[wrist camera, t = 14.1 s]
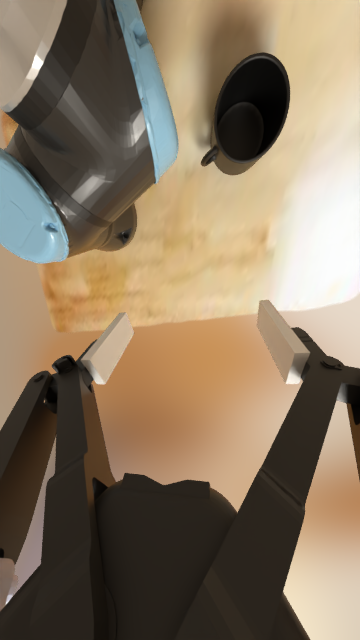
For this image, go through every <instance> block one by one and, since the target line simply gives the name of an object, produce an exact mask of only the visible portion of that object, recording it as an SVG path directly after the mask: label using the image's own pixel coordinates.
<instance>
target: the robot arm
mask: <svg viewBox="0 0 360 640" xmlns="http://www.w3.org/2000/svg"><path fill="white" fill-rule="evenodd" d="M0 108H1V109H2V110H3V111H4V112H5V113H6V114H7V115H9V116H10V117H11V118H12V119H13V120H14V121H16V122H17V123H18V124H19V126H18V127H17V129H16V131H15V133H14V135H13V137H12V139H11V141H10V142H9V144H8V146H7V148H5V149H4V150H3V149H1V148H0V244H1V245H2V246H4V247H5V248H6V249H8V250H9V251H10V252H12V253H13V254H15V255H17V256H19V257H21V258H23V259H25V260H30V261H32V262H35V263H50V262H55V261H56V262H58V261H59V262H60V261H62V260H65V259H66V258H68V257H71V256H74V255H77V254H80V253H83V252H86V251H89V250H92V249H98V250H102V251H116V250H119V249H121V248H124V247H125V246H127V245H128V244H129V243H130V242H131V240H132V239H133V237H134V234H135V231H136V227H137V215H136V209H135V206H134V202H135V201H136V200H137V199H138V198H139V197H140V196H141V195H142V194H143V193H144V192H145V191H146V190H147V189H148V188H149V187H151V186H152V185H153V184H157V183H158V181H159V178H160V177H161V176H162V175H163V174H164V173H165V172H166V171H167V170H168V169H169V168H170V166H171V165H172V164H173V163H174V161H175V160H176V158H177V153H178V135H177V129H176V125H175V121H174V117H173V113H172V109H171V105H170V102H169V98H168V95H167V91H166V88H165V85H164V81H163V78H162V75H161V72H160V69H159V65H158V62H157V59H156V56H155V53H154V51H153V48H152V45H151V43H150V42H149V40H148V38H147V32H146V29H145V26H144V24H143V21H142V17H141V14H140V11H139V7H138V5H137V2H136V0H0ZM257 327H258V329H259V331H260V333H261V335H262V337H263V339H264V341H265V343H266V345H267V347H268V349H269V351H270V353H271V355H272V357H273V359H274V361H275V363H276V365H277V367H278V369H279V371H280V373H281V375H282V377H283V379H284V382H285V383H286V384H299V382H300V379H302V380H303V383H302V385H301V387H300V389H299V391H298V393H297V396H296V397H295V399H294V401H293V403H292V405H291V408H290V410H289V412H288V414H287V416H286V418H285V420H284V422H283V424H282V426H281V428H280V430H279V432H278V434H277V436H276V438H275V440H274V442H273V444H272V446H271V448H270V451H269V452H268V455H267V457H266V459H265V461H264V463H263V465H262V467H261V468H260V469H259V471H258V473H257V475H256V477H255V479H254V481H253V483H252V485H251V487H250V489H249V491H248V493H247V495H246V497H245V499H244V501H243V503H242V505H241V507H240V509H239V511H238V513H237V511H236V510H235V509H234V507H233V506H232V505H231V503H230V502H229V501H228V500H227V499H226V498H225V497H224V496H223V495H222V494H220V493H219V492H217V491H216V490H214V489H212V488H210V484H209V482H203V481H194V480H184V481H180V482H177V483H172V484H168V485H162V484H160V483H158V482H156V481H154V480H152V479H150V478H148V477H147V476H145V475H139V474H129V473H125V474H124V477H123V480H120V481H118V482H116V481H115V479H114V477H113V475H112V472H111V469H110V465H109V461H108V455H107V451H106V446H105V441H104V437H103V432H102V427H101V422H100V417H99V413H98V408H97V403H96V399H95V393H94V389H93V385H92V384H91V383H92V381H93V380H95V382H96V383H97V384H106V382H107V380H108V379H109V377H110V375H111V373H112V372H113V370H114V368H115V366H116V365H117V363H118V361H119V359H120V357H121V356H122V354H123V352H124V350H125V349H126V347H127V345H128V343H129V342H130V340H131V338H132V336H133V334H134V331H133V329H132V326H131V323H130V321H129V318H128V316H127V313H119V314H118V316H117V317H116V318H115V319H114V320H113V322H112V323H111V324H110V325H109V326H108V328H107V329H106V330H105V331H104V332H103V334H102V335H101V336H100V337H99V338H98V339H97V340H95V341H94V342H93V343H92V344H91V345H90V346H89V347H88V348H87V349H86V350H85V352H84V353H83V354H82V355H81V356H80V357H79V358H78V360H77V361H76V362H75V360H74V359H73V357H72V356H70V355H66V356H63V357H61V358H59V359H58V360H56V361H55V362H54V363H53V365H52V367H53V369H54V370H55V371H56V372H57V373H55V374H52V375H51V374H50V373H49V372H48V371H42V372H39V373H37V374H36V375H34V376H33V377H32V378H31V379H30V380H29V382H28V383H27V385H26V387H25V389H24V391H23V392H22V394H21V395H20V397H19V399H18V401H17V403H16V404H15V406H14V408H13V410H12V411H11V413H10V415H9V417H8V418H7V420H6V422H5V424H4V425H3V427H2V429H1V431H0V640H310V638H309V637H308V635H307V633H306V631H305V630H304V628H303V626H302V625H301V623H300V621H299V619H298V617H297V616H296V614H295V612H294V610H293V609H292V607H291V605H290V603H289V602H288V600H287V598H286V596H285V595H284V593H283V589H284V586H285V582H286V579H287V575H288V572H289V569H290V565H291V562H292V558H293V555H294V551H295V548H296V545H297V541H298V537H299V534H300V530H301V527H302V523H303V519H304V515H305V503H306V499H307V496H308V492H309V489H310V486H311V482H312V479H313V475H314V472H315V469H316V466H317V462H318V459H319V455H320V452H321V449H322V446H323V443H324V439H325V436H326V433H327V429H328V426H329V422H330V419H331V416H332V413H333V409H334V406H335V403H336V400H337V401H341V402H345V403H346V404H347V409H348V415H349V421H350V427H351V433H352V439H353V445H354V451H355V456H356V462H357V468H358V474H359V480H360V369H359V368H354V367H348V366H344V365H343V363H342V362H340V361H339V360H337V359H335V358H333V357H330V356H327V355H326V354H325V353H324V352H323V351H322V350H321V349H320V348H319V347H318V345H317V344H316V343H315V342H314V341H313V340H312V338H311V337H310V336H309V335H308V334H307V333H306V332H305V331H304V330H302V329H300V328H299V327H298V328H297V327H296V328H290V326H289V325H288V324H287V323H286V321H285V320H284V319H283V317H282V316H281V315H280V314H279V312H278V311H277V310H276V308H275V307H274V306H273V305H272V303H271V302H270V301H269V300H261V301H260V302H259V310H258V319H257ZM44 400H45V403H44ZM55 437H56V463H55V474H54V476H53V477H51V478H50V479H49V481H48V482H47V486H46V497H45V512H44V527H43V542H42V557H41V565H40V566H39V567H38V568H37V569H36V570H35V571H34V573H33V574H32V575H31V576H30V577H29V579H28V580H27V581H26V582H25V583H24V584H23V585H22V587H21V588H20V589H19V590H18V591H17V592H16V594H15V595H14V596H13V594H14V592H15V590H16V588H17V583H18V576H17V575H14V572H15V564H16V562H17V560H18V557H19V555H20V552H21V549H22V547H23V544H24V542H25V539H26V536H27V533H28V530H29V527H30V524H31V521H32V517H33V514H34V510H35V507H36V503H37V500H38V496H39V493H40V489H41V486H42V482H43V479H44V475H45V472H46V468H47V465H48V461H49V458H50V454H51V451H52V447H53V443H54V440H55ZM12 596H13V597H12Z"/></svg>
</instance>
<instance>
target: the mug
mask: <svg viewBox="0 0 360 640" xmlns="http://www.w3.org/2000/svg"><path fill="white" fill-rule="evenodd" d="M289 102H290V85H289V79H288V75H287V72H286V70H285V68H284V66H283V64H282V63H281V62H280V61H279V60H278V59H277V58H276V57H275V56H273V55H271V54H268V53H256V54H253V55H250V56H248V57H247V58H245V59H244V60H242V61H241V62H240V63H239V64H238V65H236V67H235V68H234V69H233V70H232V71H231V73H230V74H229V76H228V77H227V78H226V80H225V82H224V84H223V86H222V88H221V91H220V93H219V96H218V99H217V103H216V107H215V113H214V121H213V129H212V136H211V150H209V151H208V152H207V153H206V155H205V156H204V157H203V159H202V161H201V165H202V166H207V165H208V164H210V163H211V162H212V161H214V162H215V164H216V166H217V167H218V168H219V169H220V170H221V171H222V172H223V173H225V174H228V175H238V174H241V173H243V172H245V171H247V170H248V169H249V168H250V167H252V166H253V165H254V164H255V163H256V162H257V161H258V160H259V159H260V158H261V157H262V156H263V155H264V154H265V153H266V152H267V151H268V150H269V149H270V148H271V147H272V145H273V144H274V143H275V141H276V140H277V138H278V136H279V135H280V133H281V131H282V128H283V126H284V123H285V120H286V118H287V114H288V109H289Z"/></svg>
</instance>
